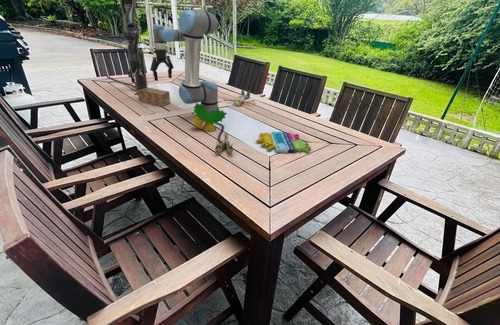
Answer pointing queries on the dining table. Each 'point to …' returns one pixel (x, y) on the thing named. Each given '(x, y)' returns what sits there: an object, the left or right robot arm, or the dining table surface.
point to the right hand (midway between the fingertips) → (163, 79)
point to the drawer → (138, 95)
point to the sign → (283, 142)
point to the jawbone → (224, 145)
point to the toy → (241, 99)
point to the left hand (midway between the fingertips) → (137, 81)
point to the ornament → (207, 117)
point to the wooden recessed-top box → (154, 96)
